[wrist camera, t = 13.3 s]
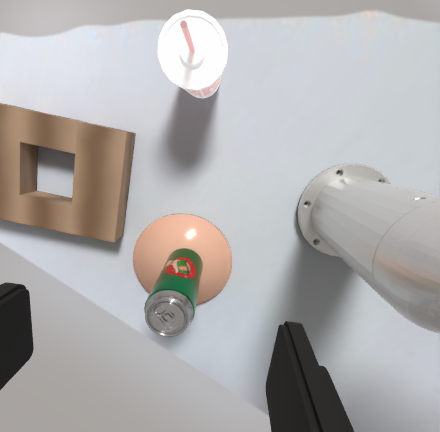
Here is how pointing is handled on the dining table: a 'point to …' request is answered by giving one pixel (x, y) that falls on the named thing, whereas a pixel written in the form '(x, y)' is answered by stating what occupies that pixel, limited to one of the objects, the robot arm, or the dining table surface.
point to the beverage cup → (193, 52)
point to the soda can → (175, 293)
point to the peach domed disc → (183, 238)
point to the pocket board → (83, 173)
